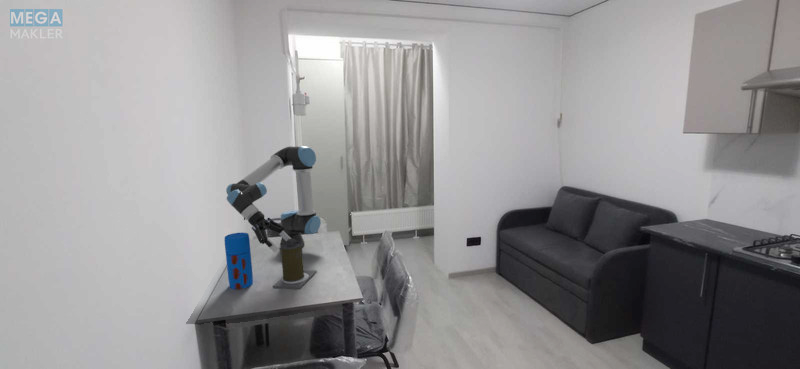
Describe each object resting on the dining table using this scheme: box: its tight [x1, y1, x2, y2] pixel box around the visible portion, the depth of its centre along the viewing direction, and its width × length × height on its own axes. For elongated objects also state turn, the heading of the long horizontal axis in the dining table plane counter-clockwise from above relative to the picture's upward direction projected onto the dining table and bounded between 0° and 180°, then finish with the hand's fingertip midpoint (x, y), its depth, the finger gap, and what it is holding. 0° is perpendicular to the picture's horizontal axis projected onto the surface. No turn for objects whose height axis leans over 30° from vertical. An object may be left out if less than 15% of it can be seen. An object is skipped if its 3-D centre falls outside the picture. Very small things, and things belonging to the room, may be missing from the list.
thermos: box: [224, 232, 254, 290], centre depth 171 cm, size 11×11×25 cm
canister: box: [279, 239, 304, 282], centre depth 176 cm, size 11×10×20 cm
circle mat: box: [272, 269, 317, 290], centre depth 178 cm, size 20×14×1 cm
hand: (283, 245), depth 175 cm, fingers open, 13 cm apart
